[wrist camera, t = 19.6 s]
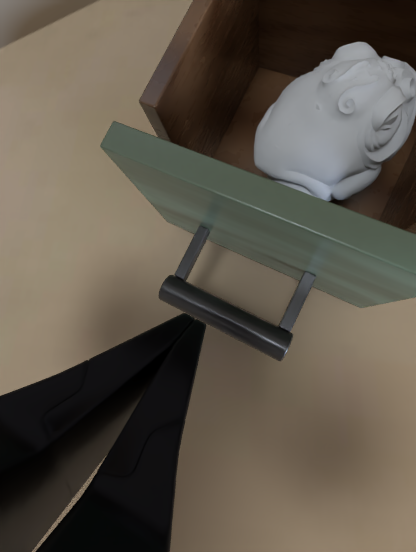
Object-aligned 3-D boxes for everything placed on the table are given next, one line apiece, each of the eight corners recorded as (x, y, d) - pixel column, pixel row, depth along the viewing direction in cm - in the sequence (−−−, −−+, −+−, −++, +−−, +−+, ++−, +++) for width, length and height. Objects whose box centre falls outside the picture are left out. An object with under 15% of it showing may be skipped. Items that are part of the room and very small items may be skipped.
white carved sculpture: (395, 194, 17) (484, 105, 10) (277, 245, 18) (287, 193, 11) (343, 109, 18) (392, -21, 11) (236, 159, 19) (222, 65, 12)
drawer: (328, 382, 17) (393, 436, 9) (134, 282, 20) (41, 250, 11) (445, 122, 18) (604, -55, 10) (247, 64, 21) (237, -110, 13)
